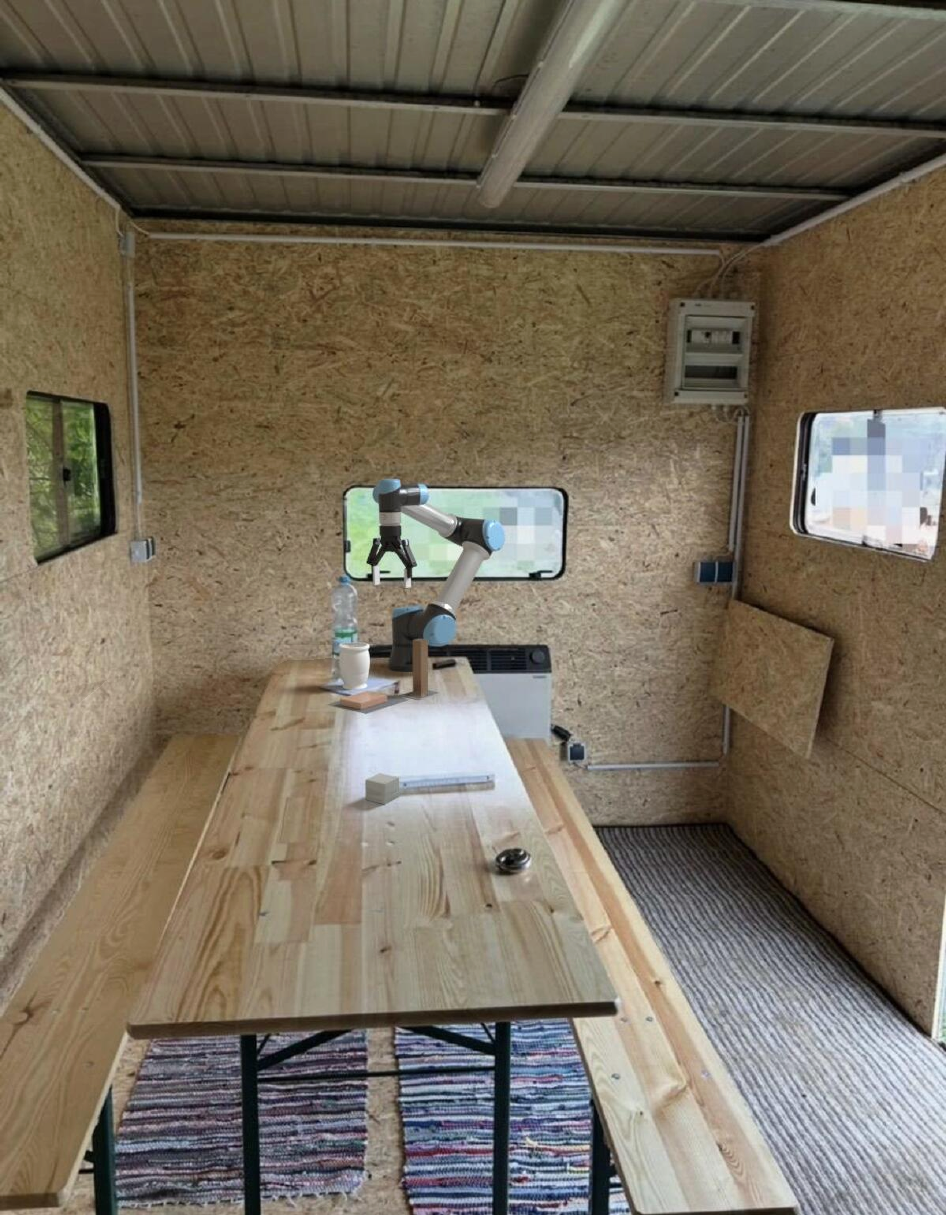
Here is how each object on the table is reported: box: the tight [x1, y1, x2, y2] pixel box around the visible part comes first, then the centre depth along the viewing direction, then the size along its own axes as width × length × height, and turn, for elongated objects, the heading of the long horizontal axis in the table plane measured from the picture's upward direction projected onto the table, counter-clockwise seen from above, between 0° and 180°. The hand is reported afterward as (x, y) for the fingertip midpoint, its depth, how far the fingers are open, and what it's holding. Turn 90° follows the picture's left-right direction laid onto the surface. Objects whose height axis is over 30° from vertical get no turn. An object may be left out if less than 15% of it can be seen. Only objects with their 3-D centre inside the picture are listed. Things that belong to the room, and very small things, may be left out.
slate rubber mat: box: [326, 692, 409, 715], centre depth 276 cm, size 20×17×1 cm
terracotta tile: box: [339, 690, 388, 710], centre depth 274 cm, size 2×9×12 cm
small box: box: [364, 772, 400, 805], centre depth 197 cm, size 6×6×5 cm
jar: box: [338, 641, 371, 691], centre depth 295 cm, size 11×10×15 cm
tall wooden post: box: [400, 638, 440, 701], centre depth 284 cm, size 10×8×19 cm
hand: (391, 586), depth 300 cm, fingers open, 13 cm apart
